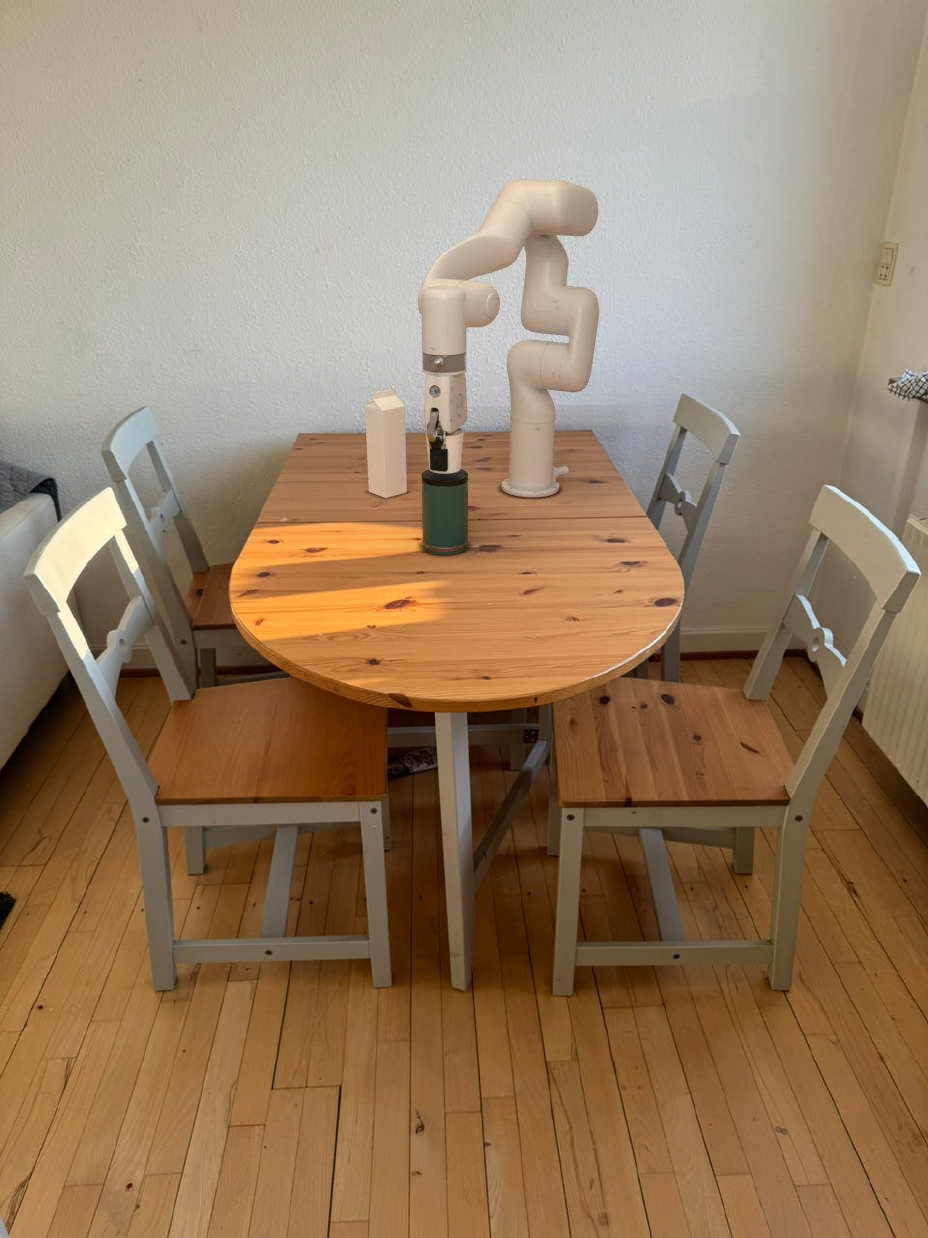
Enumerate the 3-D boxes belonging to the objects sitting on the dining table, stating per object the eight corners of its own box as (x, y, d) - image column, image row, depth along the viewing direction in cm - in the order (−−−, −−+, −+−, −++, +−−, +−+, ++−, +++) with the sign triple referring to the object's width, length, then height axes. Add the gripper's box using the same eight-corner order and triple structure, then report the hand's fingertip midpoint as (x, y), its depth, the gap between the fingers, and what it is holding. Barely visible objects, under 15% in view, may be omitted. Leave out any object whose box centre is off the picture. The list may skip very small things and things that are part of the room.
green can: (449, 535, 181) (449, 464, 175) (477, 548, 175) (478, 475, 169) (413, 544, 176) (412, 472, 170) (440, 558, 170) (439, 484, 164)
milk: (407, 492, 204) (405, 390, 194) (385, 498, 200) (382, 394, 191) (389, 485, 208) (387, 385, 198) (367, 491, 204) (364, 389, 195)
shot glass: (469, 465, 171) (469, 427, 168) (456, 476, 165) (456, 436, 162) (433, 461, 173) (433, 424, 170) (420, 472, 167) (419, 433, 164)
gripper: (448, 374, 153) (448, 481, 161) (480, 355, 167) (479, 454, 175) (405, 370, 155) (407, 477, 163) (440, 352, 169) (441, 450, 177)
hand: (445, 464), depth 169 cm, fingers closed on shot glass, 5 cm apart
